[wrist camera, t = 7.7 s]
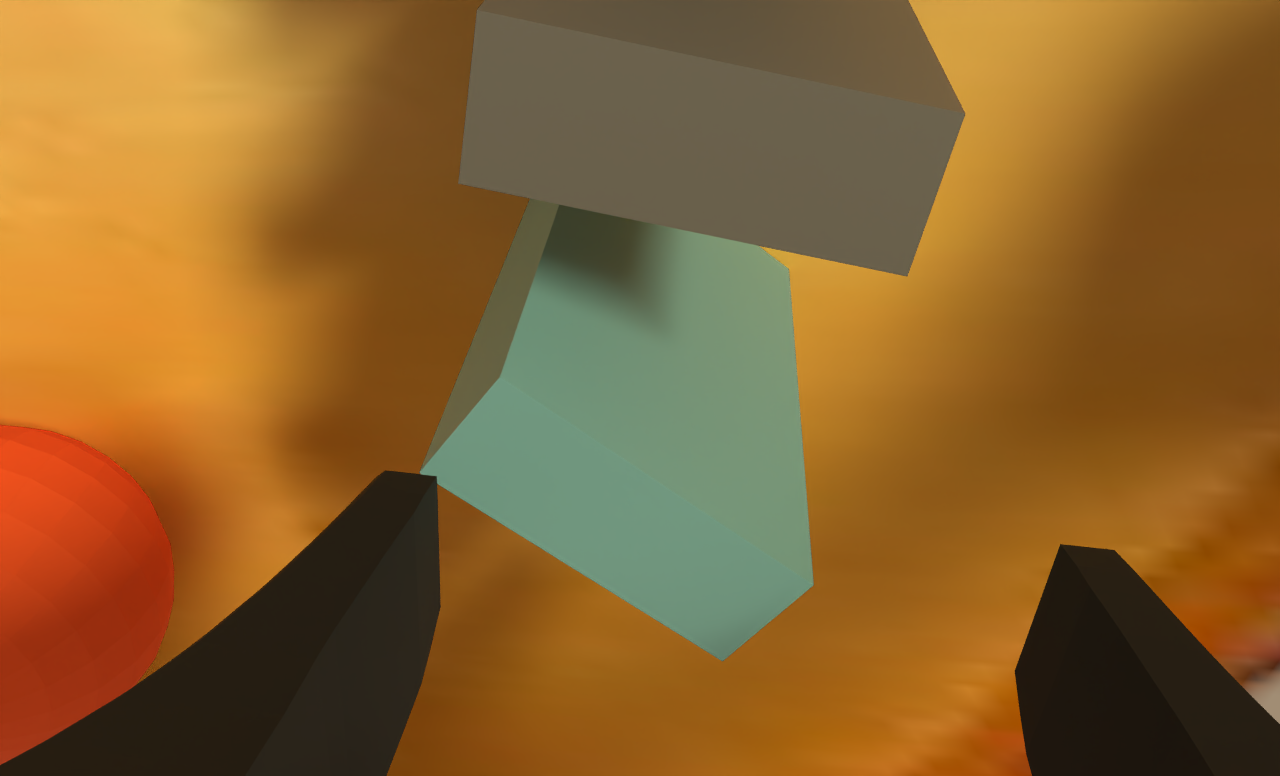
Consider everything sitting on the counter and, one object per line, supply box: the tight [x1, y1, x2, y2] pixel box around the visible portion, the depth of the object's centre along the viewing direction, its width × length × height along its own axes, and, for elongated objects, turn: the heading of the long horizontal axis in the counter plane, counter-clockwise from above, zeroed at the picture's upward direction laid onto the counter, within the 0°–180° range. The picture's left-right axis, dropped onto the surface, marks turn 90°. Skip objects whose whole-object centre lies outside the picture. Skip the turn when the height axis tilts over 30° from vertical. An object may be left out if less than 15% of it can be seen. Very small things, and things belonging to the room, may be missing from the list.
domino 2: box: [419, 199, 814, 661], centre depth 18 cm, size 2×5×9 cm, turn 53°
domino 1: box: [458, 0, 965, 276], centre depth 15 cm, size 2×5×9 cm, turn 79°
